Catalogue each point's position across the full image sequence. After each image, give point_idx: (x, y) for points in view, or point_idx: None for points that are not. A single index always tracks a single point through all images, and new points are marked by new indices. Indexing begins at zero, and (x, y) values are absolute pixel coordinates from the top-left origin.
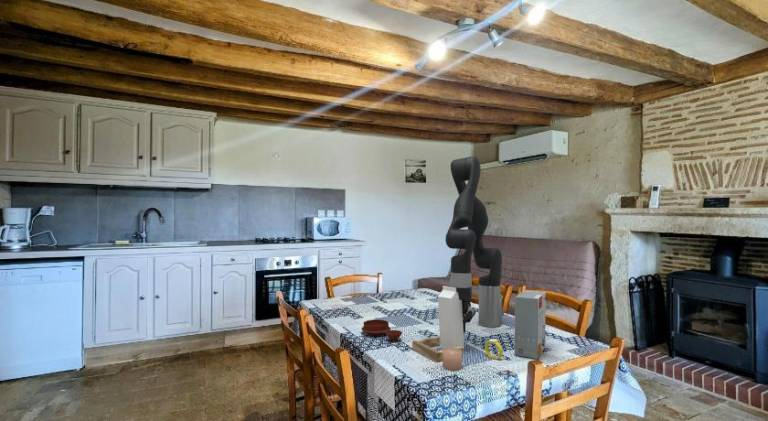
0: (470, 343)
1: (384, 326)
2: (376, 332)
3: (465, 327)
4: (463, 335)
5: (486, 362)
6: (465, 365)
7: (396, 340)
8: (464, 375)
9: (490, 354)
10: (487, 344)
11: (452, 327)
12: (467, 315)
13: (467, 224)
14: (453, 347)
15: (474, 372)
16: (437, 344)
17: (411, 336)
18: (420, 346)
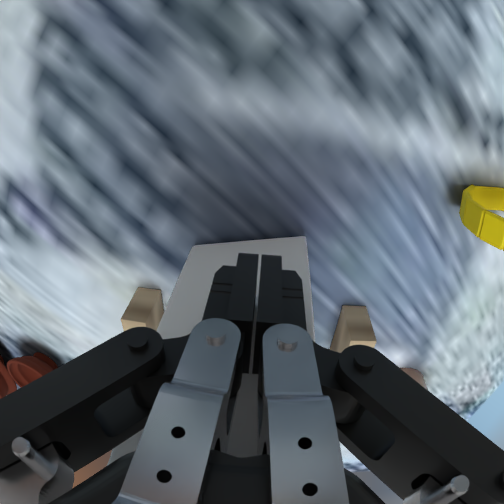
0: (229, 90)
1: None
2: (15, 389)
3: (304, 305)
4: (311, 297)
5: (480, 273)
6: (423, 355)
7: (54, 366)
8: (449, 392)
9: (472, 192)
10: (490, 229)
11: None
12: (412, 484)
13: None
14: None
15: (468, 363)
16: (159, 307)
17: (12, 294)
18: None
